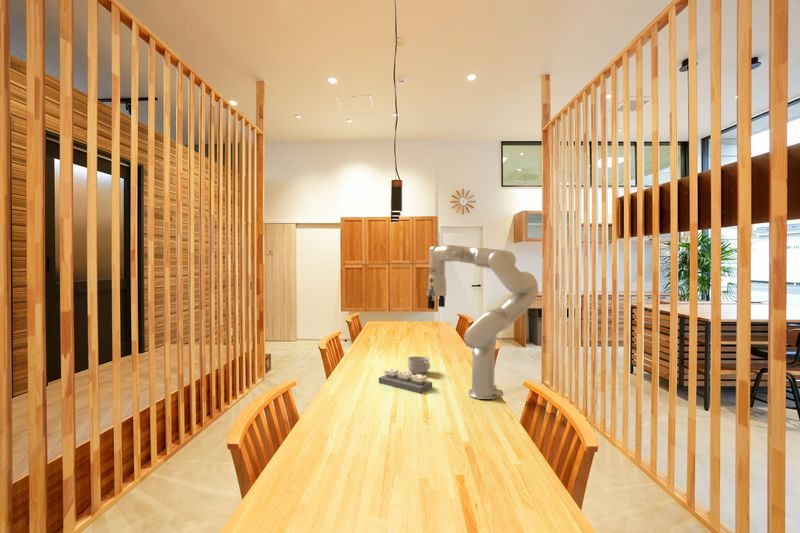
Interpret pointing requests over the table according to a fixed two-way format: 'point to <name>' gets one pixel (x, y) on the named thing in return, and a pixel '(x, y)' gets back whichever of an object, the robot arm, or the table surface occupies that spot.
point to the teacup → (418, 364)
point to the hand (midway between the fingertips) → (436, 307)
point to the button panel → (405, 384)
